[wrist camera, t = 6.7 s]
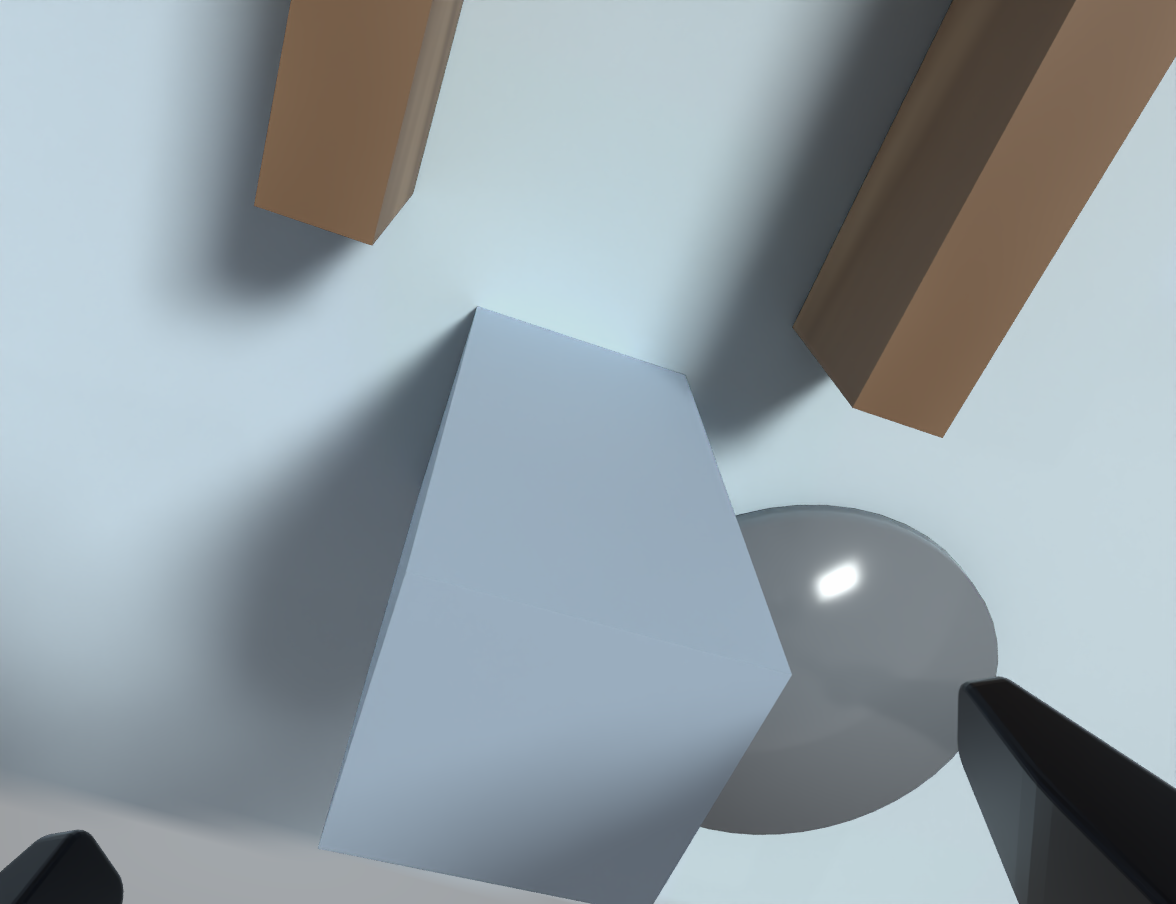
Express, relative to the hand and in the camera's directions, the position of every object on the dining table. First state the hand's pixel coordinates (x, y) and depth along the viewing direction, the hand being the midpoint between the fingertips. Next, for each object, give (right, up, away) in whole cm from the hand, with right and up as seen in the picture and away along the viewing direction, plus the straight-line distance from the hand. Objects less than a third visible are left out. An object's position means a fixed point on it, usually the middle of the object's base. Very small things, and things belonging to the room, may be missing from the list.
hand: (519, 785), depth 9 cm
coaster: (+5, -2, +11) cm, 12 cm away
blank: (0, +4, +8) cm, 8 cm away
